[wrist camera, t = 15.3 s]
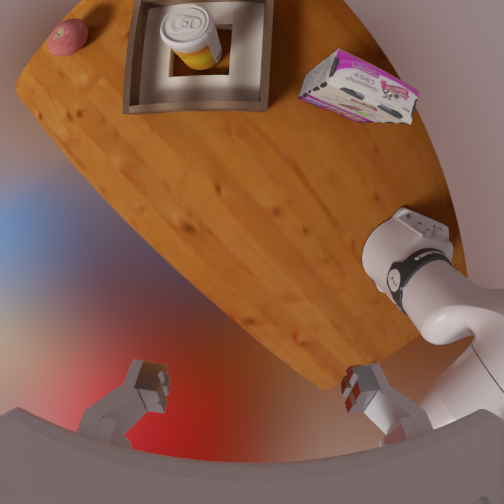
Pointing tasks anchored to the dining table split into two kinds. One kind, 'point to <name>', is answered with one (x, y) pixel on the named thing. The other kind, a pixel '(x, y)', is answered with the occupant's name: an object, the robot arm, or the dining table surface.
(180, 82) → the wooden box
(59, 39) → the apple
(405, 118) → the candy bar box
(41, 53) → the dining table surface
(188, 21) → the beer can
